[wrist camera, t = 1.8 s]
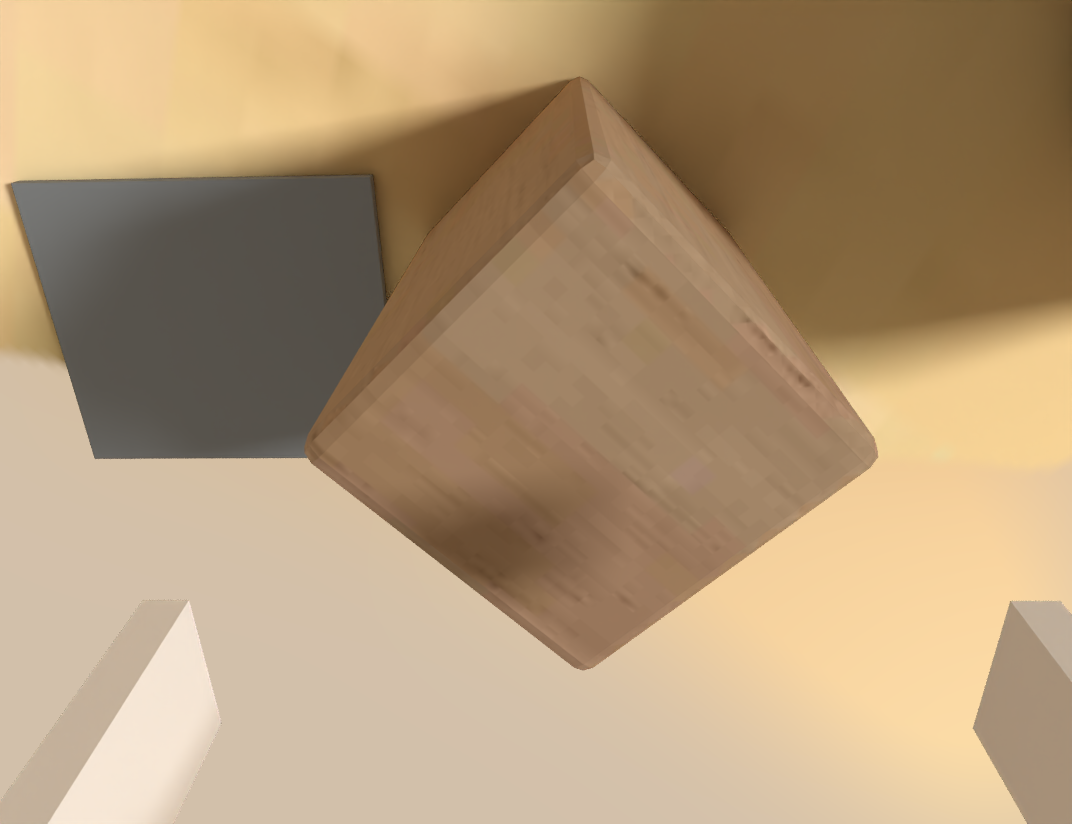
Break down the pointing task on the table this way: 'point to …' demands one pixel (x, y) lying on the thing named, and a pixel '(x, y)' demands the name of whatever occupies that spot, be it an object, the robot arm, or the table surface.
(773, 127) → the table surface
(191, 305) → the mat
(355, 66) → the table surface
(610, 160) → the wooden block
